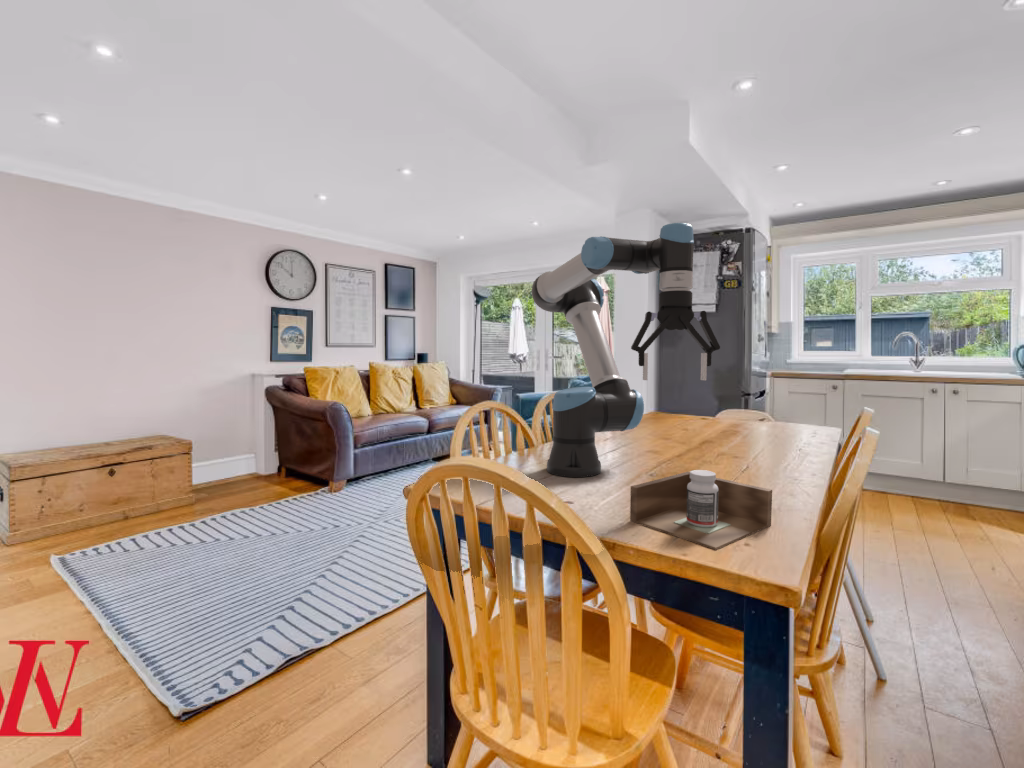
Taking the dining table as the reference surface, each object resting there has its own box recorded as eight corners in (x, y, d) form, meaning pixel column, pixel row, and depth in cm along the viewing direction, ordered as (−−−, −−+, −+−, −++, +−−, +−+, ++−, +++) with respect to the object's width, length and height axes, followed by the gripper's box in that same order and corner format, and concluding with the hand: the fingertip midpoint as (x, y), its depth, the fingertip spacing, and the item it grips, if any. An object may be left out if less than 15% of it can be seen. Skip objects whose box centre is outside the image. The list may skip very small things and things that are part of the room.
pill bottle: (696, 516, 102) (697, 467, 101) (723, 523, 97) (724, 472, 96) (680, 522, 98) (681, 472, 97) (707, 530, 94) (709, 477, 93)
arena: (630, 520, 101) (630, 486, 100) (687, 502, 113) (687, 471, 112) (716, 549, 86) (717, 509, 86) (771, 525, 98) (772, 489, 97)
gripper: (623, 290, 118) (622, 380, 119) (735, 288, 114) (733, 381, 116) (621, 293, 125) (620, 378, 127) (726, 291, 122) (723, 379, 123)
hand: (674, 380), depth 121 cm, fingers open, 13 cm apart
